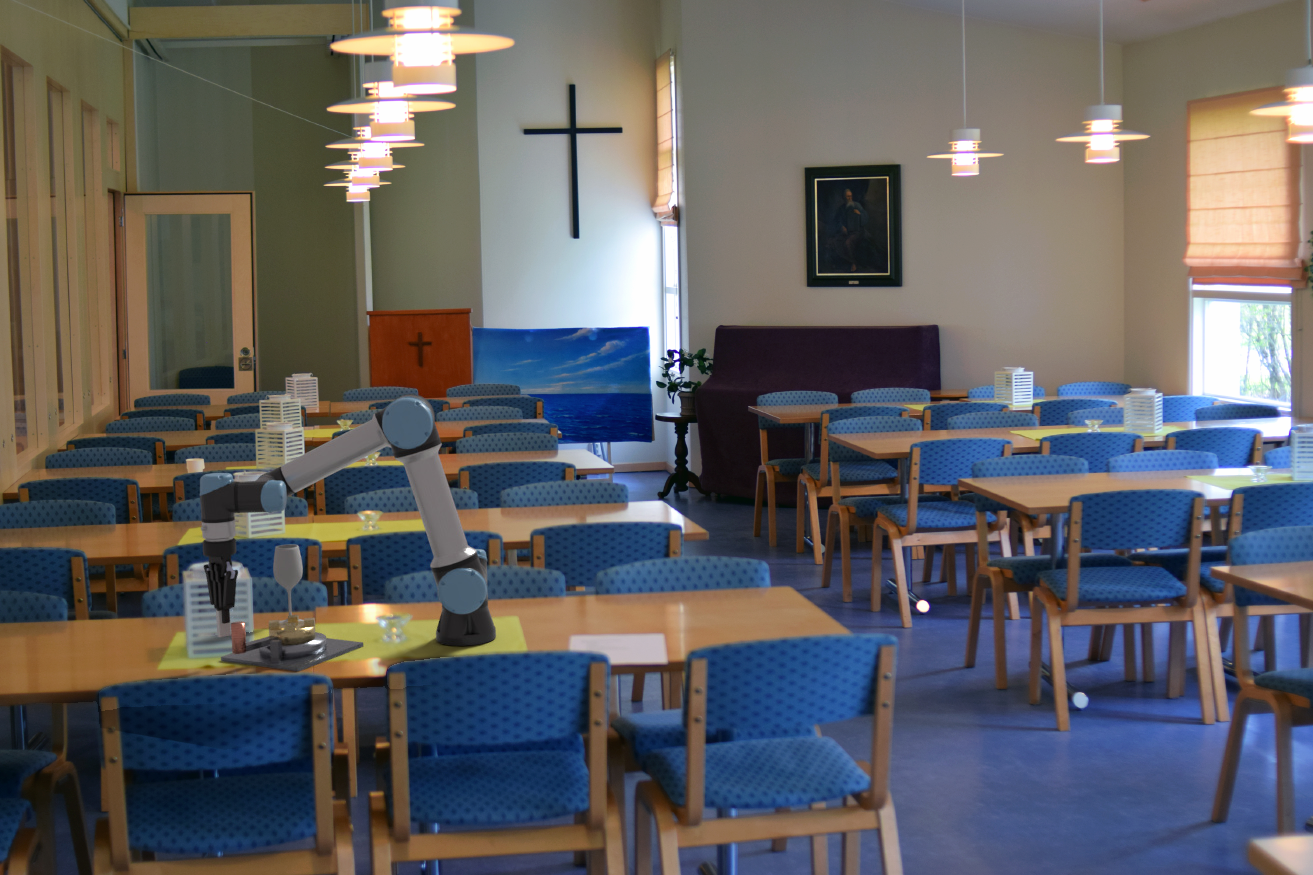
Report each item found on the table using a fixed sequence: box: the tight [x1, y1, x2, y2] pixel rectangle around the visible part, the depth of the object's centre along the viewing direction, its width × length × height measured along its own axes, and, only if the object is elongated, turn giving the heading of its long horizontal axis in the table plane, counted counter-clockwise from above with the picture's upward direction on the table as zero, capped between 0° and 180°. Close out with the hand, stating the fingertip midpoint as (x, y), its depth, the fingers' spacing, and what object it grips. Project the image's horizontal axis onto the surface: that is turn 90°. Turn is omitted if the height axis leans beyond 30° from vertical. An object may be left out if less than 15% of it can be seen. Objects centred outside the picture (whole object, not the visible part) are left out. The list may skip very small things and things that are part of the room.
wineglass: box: [272, 544, 304, 623], centre depth 353 cm, size 8×8×21 cm
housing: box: [220, 631, 364, 672], centre depth 322 cm, size 24×24×6 cm
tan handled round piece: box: [230, 614, 316, 654], centre depth 317 cm, size 23×11×7 cm, turn 146°
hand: (224, 635), depth 313 cm, fingers closed
